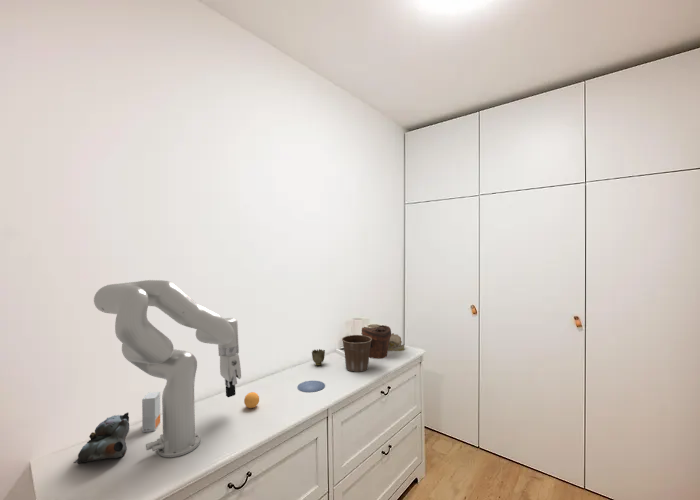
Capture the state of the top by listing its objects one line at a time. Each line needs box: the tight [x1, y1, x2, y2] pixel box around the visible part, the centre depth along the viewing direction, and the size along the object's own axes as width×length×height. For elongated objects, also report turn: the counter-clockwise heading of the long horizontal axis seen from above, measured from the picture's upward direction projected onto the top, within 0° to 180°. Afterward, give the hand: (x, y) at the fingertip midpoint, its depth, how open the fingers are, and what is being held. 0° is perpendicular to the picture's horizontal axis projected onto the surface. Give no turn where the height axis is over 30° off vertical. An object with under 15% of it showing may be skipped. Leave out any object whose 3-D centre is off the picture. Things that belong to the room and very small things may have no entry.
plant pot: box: [341, 334, 372, 373], centre depth 181 cm, size 16×16×16 cm
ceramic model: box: [388, 332, 405, 352], centre depth 216 cm, size 14×11×10 cm
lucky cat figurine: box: [73, 412, 130, 464], centre depth 106 cm, size 15×12×14 cm
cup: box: [311, 348, 326, 367], centre depth 187 cm, size 8×7×8 cm
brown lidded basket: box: [360, 324, 392, 359], centre depth 203 cm, size 18×20×18 cm
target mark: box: [296, 380, 326, 393], centre depth 158 cm, size 13×13×1 cm
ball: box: [243, 391, 260, 409], centre depth 137 cm, size 6×6×6 cm
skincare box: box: [141, 391, 161, 433], centre depth 123 cm, size 6×4×12 cm
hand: (230, 395), depth 132 cm, fingers closed
